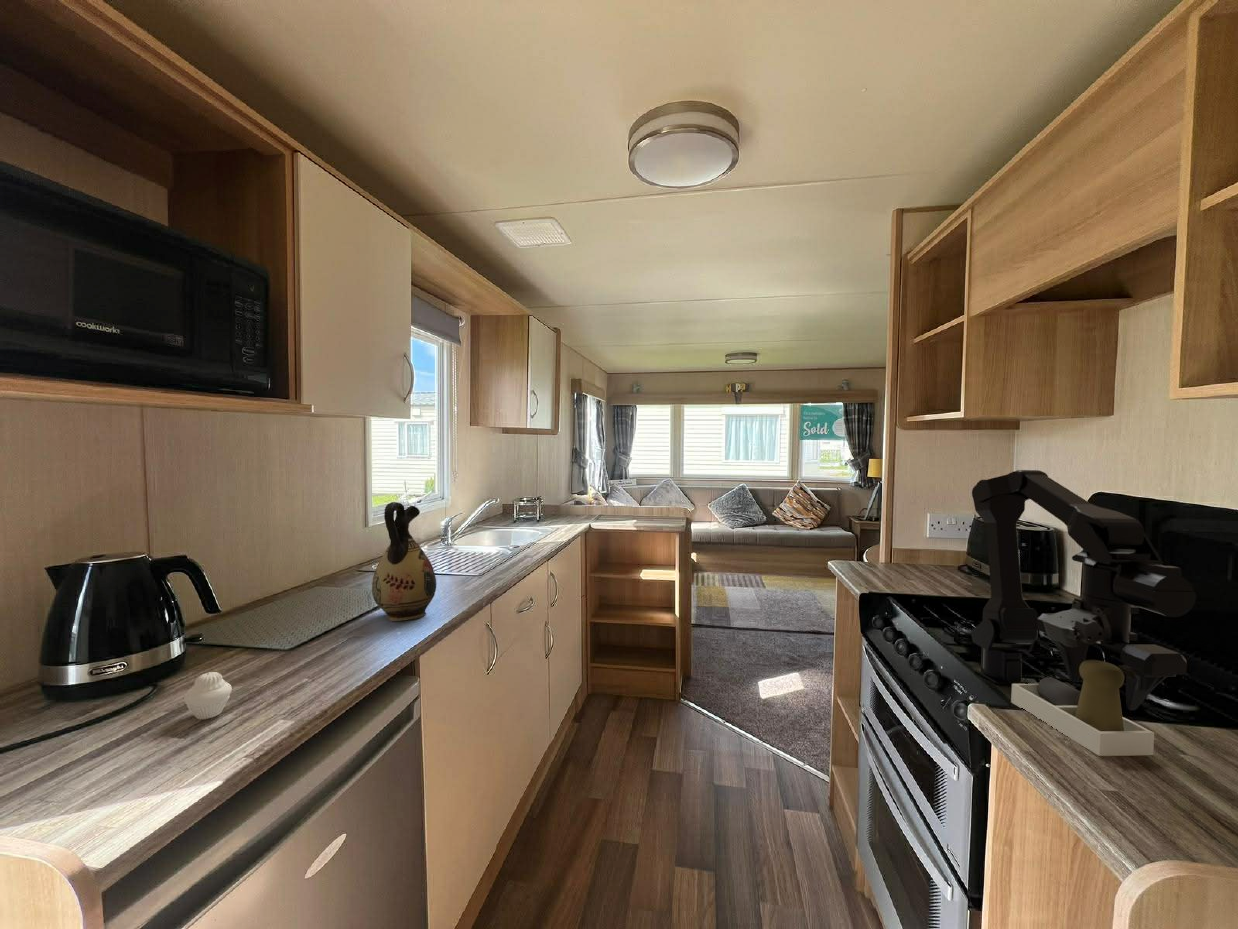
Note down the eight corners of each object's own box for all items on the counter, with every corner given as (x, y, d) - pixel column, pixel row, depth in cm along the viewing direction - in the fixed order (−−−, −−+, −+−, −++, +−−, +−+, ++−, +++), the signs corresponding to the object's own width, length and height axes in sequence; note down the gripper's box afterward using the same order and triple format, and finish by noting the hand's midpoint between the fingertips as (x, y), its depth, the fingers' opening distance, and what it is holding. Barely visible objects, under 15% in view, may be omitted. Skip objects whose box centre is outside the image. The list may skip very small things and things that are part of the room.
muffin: (239, 703, 90) (238, 663, 89) (221, 722, 84) (221, 679, 83) (196, 707, 88) (196, 666, 88) (175, 726, 82) (175, 682, 82)
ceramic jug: (394, 605, 145) (394, 497, 144) (446, 609, 143) (447, 499, 142) (354, 625, 128) (353, 503, 127) (412, 630, 126) (412, 506, 125)
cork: (1073, 717, 87) (1076, 652, 86) (1123, 731, 83) (1126, 662, 83) (1073, 732, 82) (1076, 663, 82) (1126, 747, 78) (1130, 674, 78)
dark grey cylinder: (1033, 689, 93) (1047, 672, 93) (1048, 703, 93) (1062, 686, 94) (1064, 706, 87) (1079, 688, 87) (1080, 721, 87) (1095, 702, 88)
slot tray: (1011, 702, 94) (1011, 683, 94) (1056, 701, 95) (1057, 683, 95) (1099, 756, 78) (1100, 733, 78) (1153, 755, 79) (1154, 732, 78)
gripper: (1008, 580, 91) (1004, 669, 91) (1117, 615, 72) (1111, 727, 73) (1070, 580, 91) (1066, 669, 92) (1193, 615, 73) (1187, 726, 73)
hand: (1101, 694), depth 82 cm, fingers open, 9 cm apart
